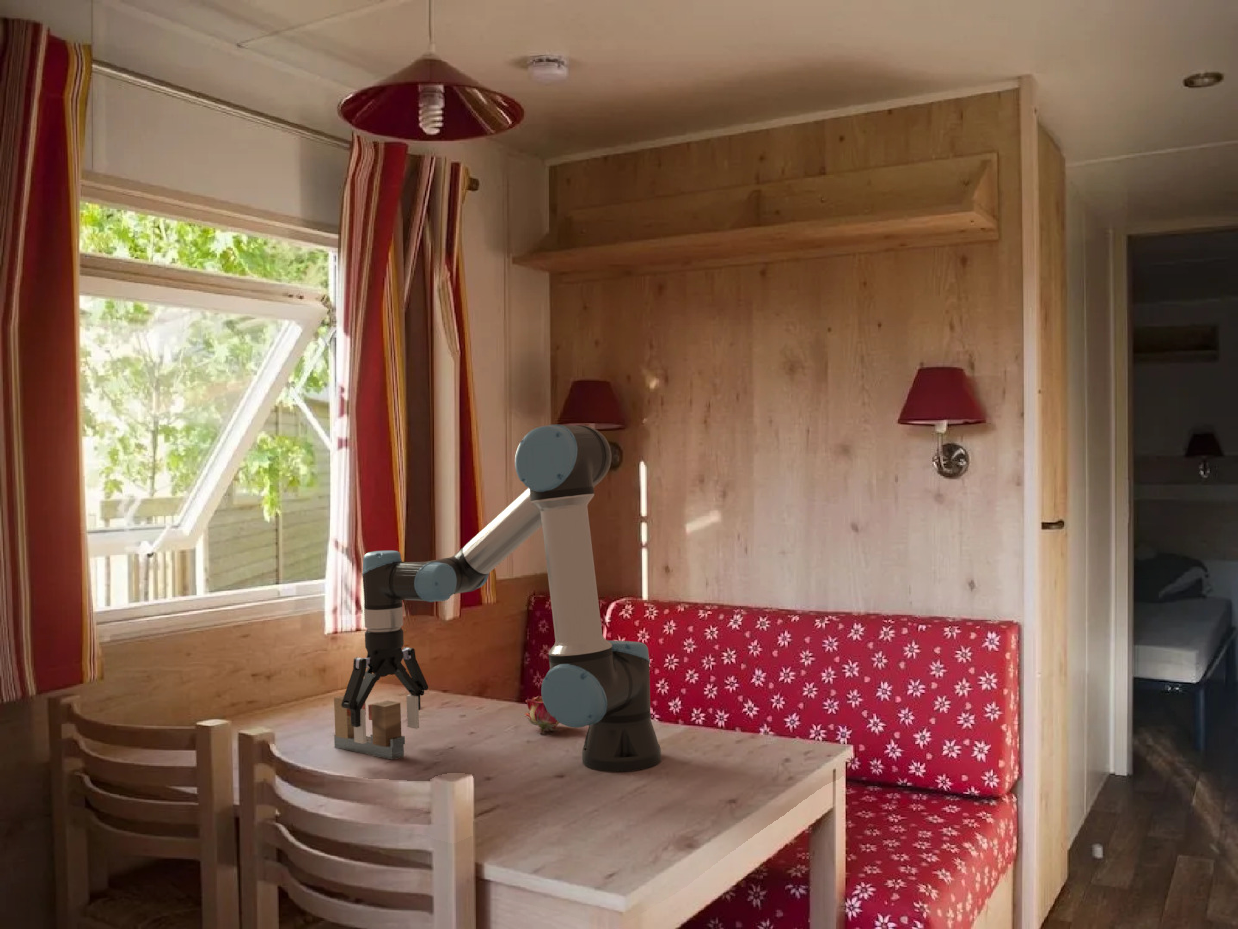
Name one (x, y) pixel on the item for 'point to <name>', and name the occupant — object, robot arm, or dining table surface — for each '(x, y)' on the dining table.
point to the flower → (540, 715)
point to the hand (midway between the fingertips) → (387, 735)
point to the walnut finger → (385, 721)
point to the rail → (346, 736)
